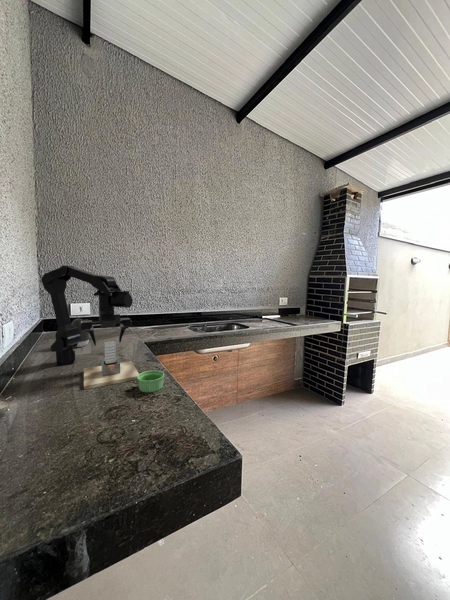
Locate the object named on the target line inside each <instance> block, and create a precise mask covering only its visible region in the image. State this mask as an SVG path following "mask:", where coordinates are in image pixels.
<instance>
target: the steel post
mask: <svg viewBox="0 0 450 600" xmlns="http://www.w3.org/2000/svg"><path fill="white" fill-rule="evenodd" d="M103 344H104V345H103V346H104V347H103V348H104V361H105V363H106V364H108V363H114V362H116V359H117V350H116V348H117V347H116V345H117V344H116V341H115V340H114V341H113V340H112V341H104V343H103Z"/></svg>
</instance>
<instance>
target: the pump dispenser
mask: <svg viewBox="0 0 450 600" xmlns="http://www.w3.org/2000/svg"><path fill="white" fill-rule="evenodd" d="M82 321H89V319H88V318H86V319H82V318H76V319H74V320H73V321H71V324H72V325H73V326H74V327H75V328H77V327H78V329H79V334H80V336H79V337H80V340H79V342H78V344H77V347H76V348H83V347H85V346H87V345H88V343H89V342H90V339H91V336H90V334H89V333H88V332H85V330H81V322H82Z"/></svg>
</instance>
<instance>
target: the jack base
mask: <svg viewBox="0 0 450 600" xmlns="http://www.w3.org/2000/svg"><path fill="white" fill-rule="evenodd" d="M100 361H101V360H100ZM139 374H140V373H139V372H138V370H137V367H135V365H134V363H133V361H131V360H129V361H124V362H120V360H119V359H118V358H116V362H114V363H108V364H106V363H105V360H102V361H101V365H97V366H92V367H91V366H90V367H85V368H83V390H88V389H93V388H94V389H95V388H100V387H103V386H110V385H115V384H121V383H124V382H130V381H131V382H132V381H136V380H137V376H138V375H139Z"/></svg>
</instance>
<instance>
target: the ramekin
mask: <svg viewBox="0 0 450 600" xmlns="http://www.w3.org/2000/svg"><path fill="white" fill-rule="evenodd" d="M164 378H165V373H164V371H162V370H157V369H156V370H154V369H153V370H152V369H151V370H146V371H143V372H141V373H139V375H138V376H137V379H136V380H137V383H138V385H137V386H138V390H139V391H140V392H142V393H154V392H157V391H160V390H161V389H162V388H163V387H164Z"/></svg>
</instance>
